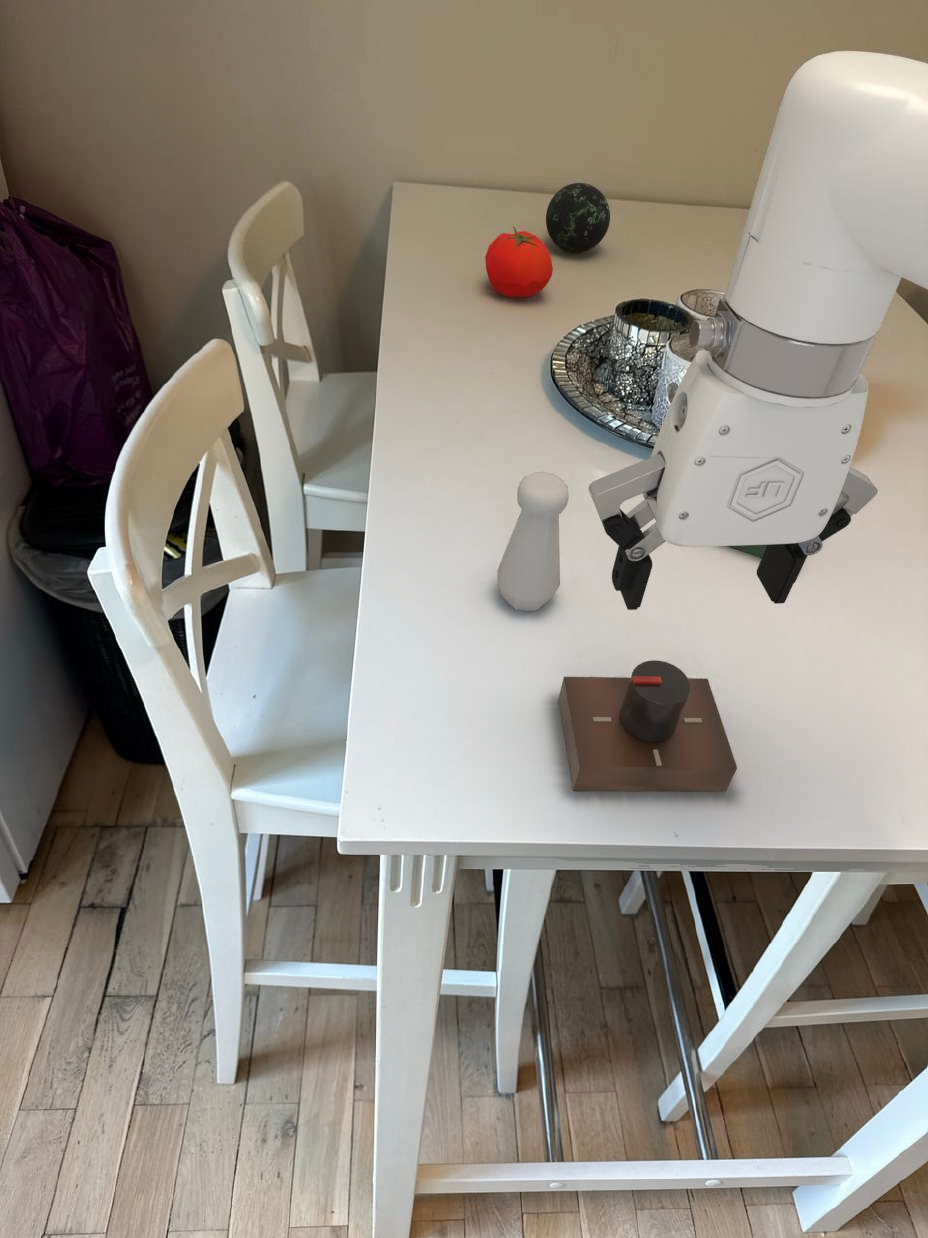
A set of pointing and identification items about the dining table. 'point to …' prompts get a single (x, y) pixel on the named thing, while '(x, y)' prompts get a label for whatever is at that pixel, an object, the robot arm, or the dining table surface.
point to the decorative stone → (577, 217)
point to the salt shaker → (534, 543)
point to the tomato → (518, 264)
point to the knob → (654, 701)
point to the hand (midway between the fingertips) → (698, 591)
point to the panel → (631, 764)
